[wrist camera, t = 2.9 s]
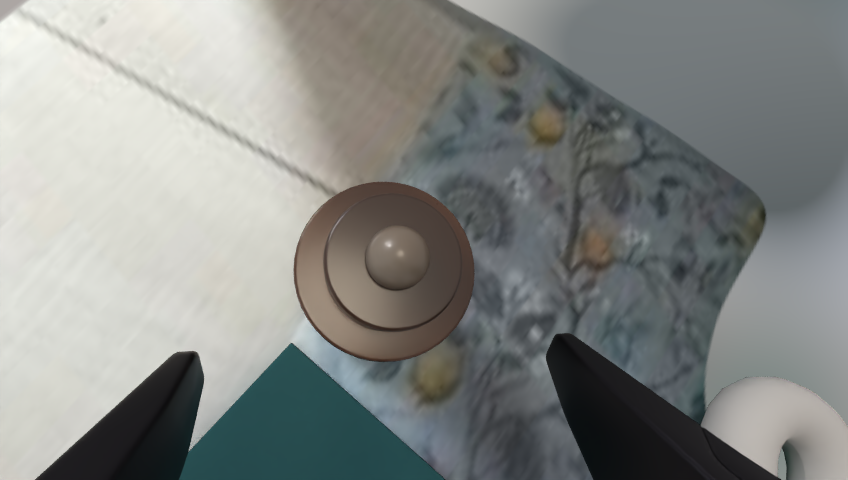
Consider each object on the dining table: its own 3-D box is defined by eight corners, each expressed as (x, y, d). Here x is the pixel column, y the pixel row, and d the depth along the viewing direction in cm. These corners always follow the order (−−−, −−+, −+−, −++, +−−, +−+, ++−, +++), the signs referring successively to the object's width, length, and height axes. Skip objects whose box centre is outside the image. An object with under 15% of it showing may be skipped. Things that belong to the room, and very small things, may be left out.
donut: (819, 416, 24) (703, 343, 23) (895, 430, 21) (765, 346, 20) (798, 586, 21) (663, 511, 20) (884, 634, 18) (729, 548, 17)
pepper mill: (367, 368, 18) (415, 425, 8) (288, 298, 18) (226, 256, 7) (432, 289, 20) (546, 246, 9) (361, 225, 20) (394, 107, 9)
